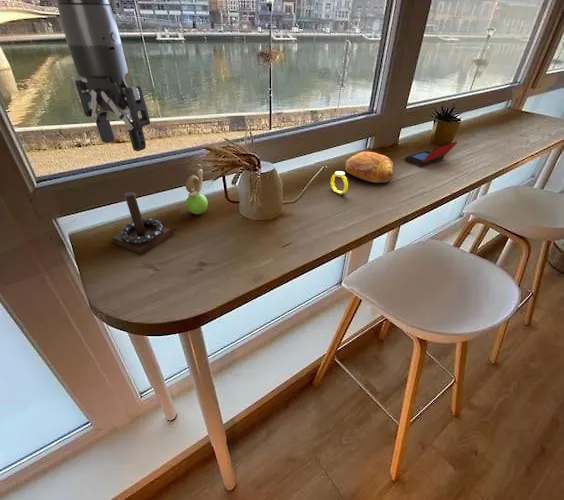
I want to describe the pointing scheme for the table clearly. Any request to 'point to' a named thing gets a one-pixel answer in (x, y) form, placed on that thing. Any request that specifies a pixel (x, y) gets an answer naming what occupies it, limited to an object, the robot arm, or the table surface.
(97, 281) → the table surface
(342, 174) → the gold gemstone ring
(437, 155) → the handheld console
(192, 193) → the snail figurine
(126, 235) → the hang ring
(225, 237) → the table surface
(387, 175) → the bread loaf
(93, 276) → the table surface
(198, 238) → the table surface
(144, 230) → the stand
